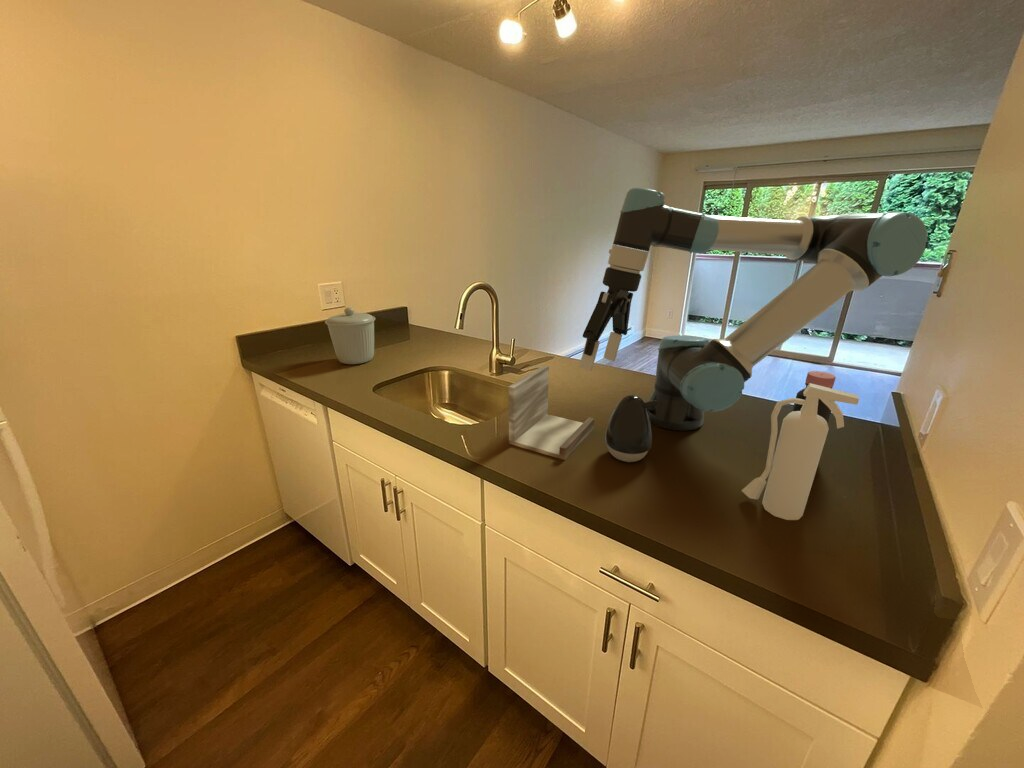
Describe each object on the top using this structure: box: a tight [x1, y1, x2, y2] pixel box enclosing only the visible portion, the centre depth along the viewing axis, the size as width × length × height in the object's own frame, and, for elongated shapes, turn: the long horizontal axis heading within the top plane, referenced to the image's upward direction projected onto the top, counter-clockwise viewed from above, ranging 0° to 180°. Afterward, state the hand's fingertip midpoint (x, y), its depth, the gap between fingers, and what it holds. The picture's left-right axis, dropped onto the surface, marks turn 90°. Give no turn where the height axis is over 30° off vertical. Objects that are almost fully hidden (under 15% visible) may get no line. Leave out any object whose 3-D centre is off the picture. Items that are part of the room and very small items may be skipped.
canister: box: [324, 306, 376, 365], centre depth 161 cm, size 18×18×21 cm
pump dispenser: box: [604, 394, 658, 463], centre depth 94 cm, size 10×10×15 cm
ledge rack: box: [507, 365, 595, 461], centre depth 103 cm, size 15×18×15 cm
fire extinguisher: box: [741, 383, 860, 521], centre depth 74 cm, size 7×12×25 cm, turn 57°
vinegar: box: [791, 370, 836, 425], centre depth 92 cm, size 7×7×20 cm
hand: (597, 364), depth 95 cm, fingers open, 13 cm apart
